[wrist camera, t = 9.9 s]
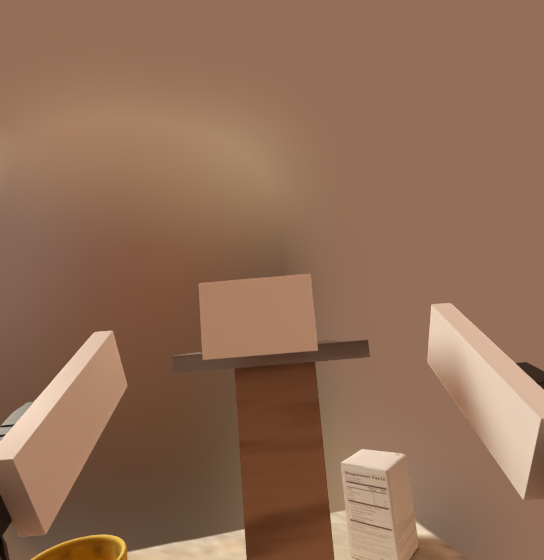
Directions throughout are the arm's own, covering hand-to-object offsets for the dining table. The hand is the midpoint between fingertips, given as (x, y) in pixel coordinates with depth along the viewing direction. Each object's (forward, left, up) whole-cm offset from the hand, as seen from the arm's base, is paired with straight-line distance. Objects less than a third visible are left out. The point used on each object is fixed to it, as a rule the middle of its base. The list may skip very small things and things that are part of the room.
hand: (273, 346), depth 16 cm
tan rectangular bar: (+15, +6, 0) cm, 16 cm away
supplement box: (+45, +3, -30) cm, 54 cm away
